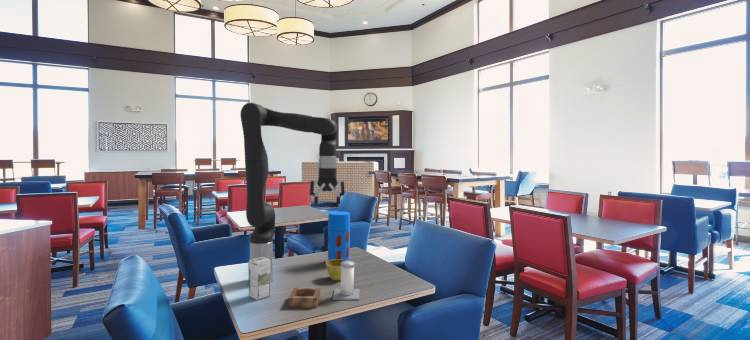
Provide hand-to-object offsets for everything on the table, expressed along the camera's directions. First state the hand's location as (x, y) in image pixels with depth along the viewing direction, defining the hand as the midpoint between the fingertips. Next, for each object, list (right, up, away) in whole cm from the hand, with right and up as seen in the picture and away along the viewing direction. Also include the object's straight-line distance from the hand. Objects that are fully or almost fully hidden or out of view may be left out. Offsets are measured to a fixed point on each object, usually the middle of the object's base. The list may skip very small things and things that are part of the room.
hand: (327, 205), depth 158 cm
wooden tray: (-6, -34, -18) cm, 39 cm away
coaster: (+9, -34, -11) cm, 37 cm away
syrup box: (-24, -34, -14) cm, 44 cm away
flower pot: (+3, -33, +8) cm, 34 cm away
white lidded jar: (+9, -33, -11) cm, 36 cm away
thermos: (+2, -32, +32) cm, 45 cm away
